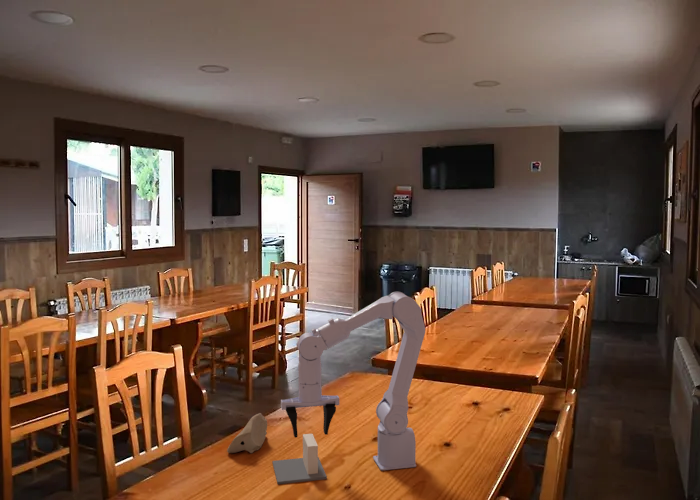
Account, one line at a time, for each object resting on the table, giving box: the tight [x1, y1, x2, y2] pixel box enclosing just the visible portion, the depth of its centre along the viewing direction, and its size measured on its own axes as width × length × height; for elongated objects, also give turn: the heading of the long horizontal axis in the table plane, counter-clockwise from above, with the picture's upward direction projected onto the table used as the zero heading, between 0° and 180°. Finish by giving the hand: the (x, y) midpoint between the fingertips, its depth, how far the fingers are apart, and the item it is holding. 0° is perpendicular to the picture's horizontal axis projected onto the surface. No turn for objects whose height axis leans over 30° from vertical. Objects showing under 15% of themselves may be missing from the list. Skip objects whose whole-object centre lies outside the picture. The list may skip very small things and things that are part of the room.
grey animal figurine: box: [226, 412, 268, 454], centre depth 166 cm, size 8×14×8 cm, turn 166°
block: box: [302, 433, 319, 474], centre depth 151 cm, size 2×8×7 cm, turn 13°
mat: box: [272, 456, 328, 485], centre depth 150 cm, size 12×12×1 cm
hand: (310, 434), depth 150 cm, fingers open, 7 cm apart
